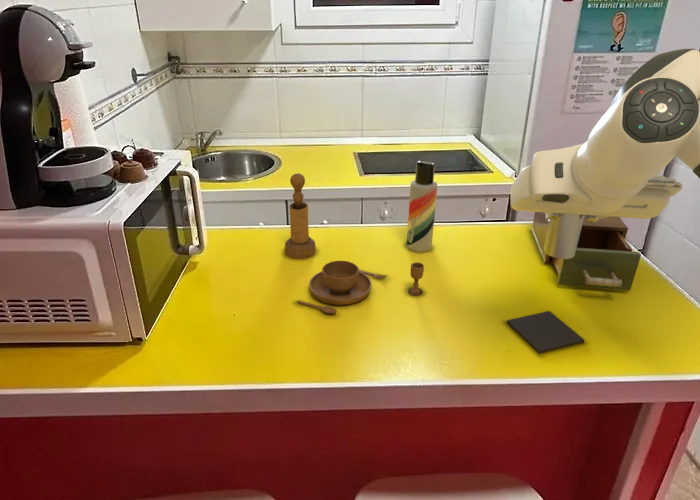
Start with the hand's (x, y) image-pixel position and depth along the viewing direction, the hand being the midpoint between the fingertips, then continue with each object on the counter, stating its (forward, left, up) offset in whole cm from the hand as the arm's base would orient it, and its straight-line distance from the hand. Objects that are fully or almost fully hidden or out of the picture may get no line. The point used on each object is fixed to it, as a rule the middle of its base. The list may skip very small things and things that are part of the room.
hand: (570, 216), depth 80 cm
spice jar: (-1, -1, -7) cm, 7 cm away
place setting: (+27, -20, -21) cm, 40 cm away
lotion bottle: (+7, -35, -21) cm, 42 cm away
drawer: (-19, -12, -20) cm, 30 cm away
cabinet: (-25, -23, -21) cm, 40 cm away
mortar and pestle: (+33, -41, -21) cm, 57 cm away
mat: (+1, +1, -21) cm, 21 cm away
